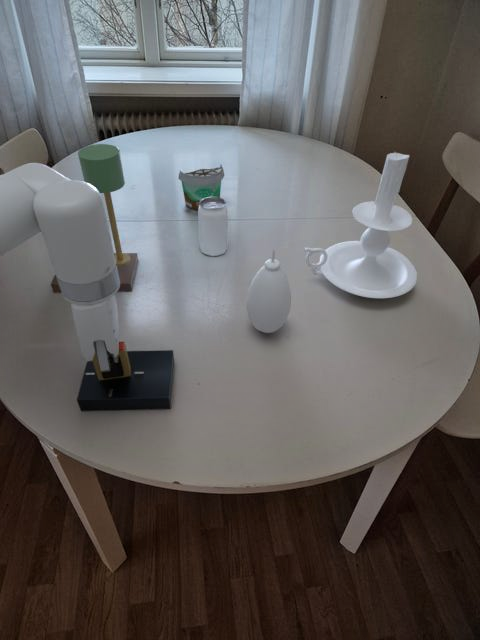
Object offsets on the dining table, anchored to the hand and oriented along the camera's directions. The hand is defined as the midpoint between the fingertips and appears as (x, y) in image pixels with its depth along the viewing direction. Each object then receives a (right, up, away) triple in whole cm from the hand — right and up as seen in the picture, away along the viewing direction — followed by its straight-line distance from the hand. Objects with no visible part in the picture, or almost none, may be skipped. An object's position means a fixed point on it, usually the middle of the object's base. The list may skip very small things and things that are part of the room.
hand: (113, 369), depth 69 cm
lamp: (-5, +20, +22) cm, 30 cm away
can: (+14, +24, +33) cm, 43 cm away
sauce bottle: (+25, +6, +14) cm, 29 cm away
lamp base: (-11, +17, +24) cm, 32 cm away
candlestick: (+45, +17, +26) cm, 55 cm away
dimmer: (+2, -3, +3) cm, 5 cm away
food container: (+11, +38, +47) cm, 62 cm away
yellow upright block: (0, -1, +1) cm, 1 cm away
